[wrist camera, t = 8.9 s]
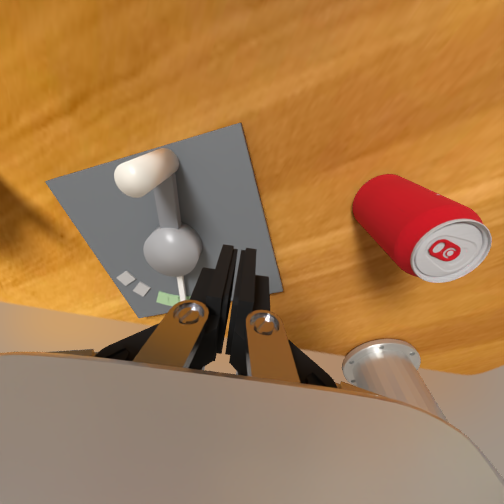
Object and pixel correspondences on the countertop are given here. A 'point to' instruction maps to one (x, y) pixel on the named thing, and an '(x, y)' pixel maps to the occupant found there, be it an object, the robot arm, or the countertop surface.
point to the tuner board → (191, 211)
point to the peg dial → (162, 214)
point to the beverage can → (421, 228)
